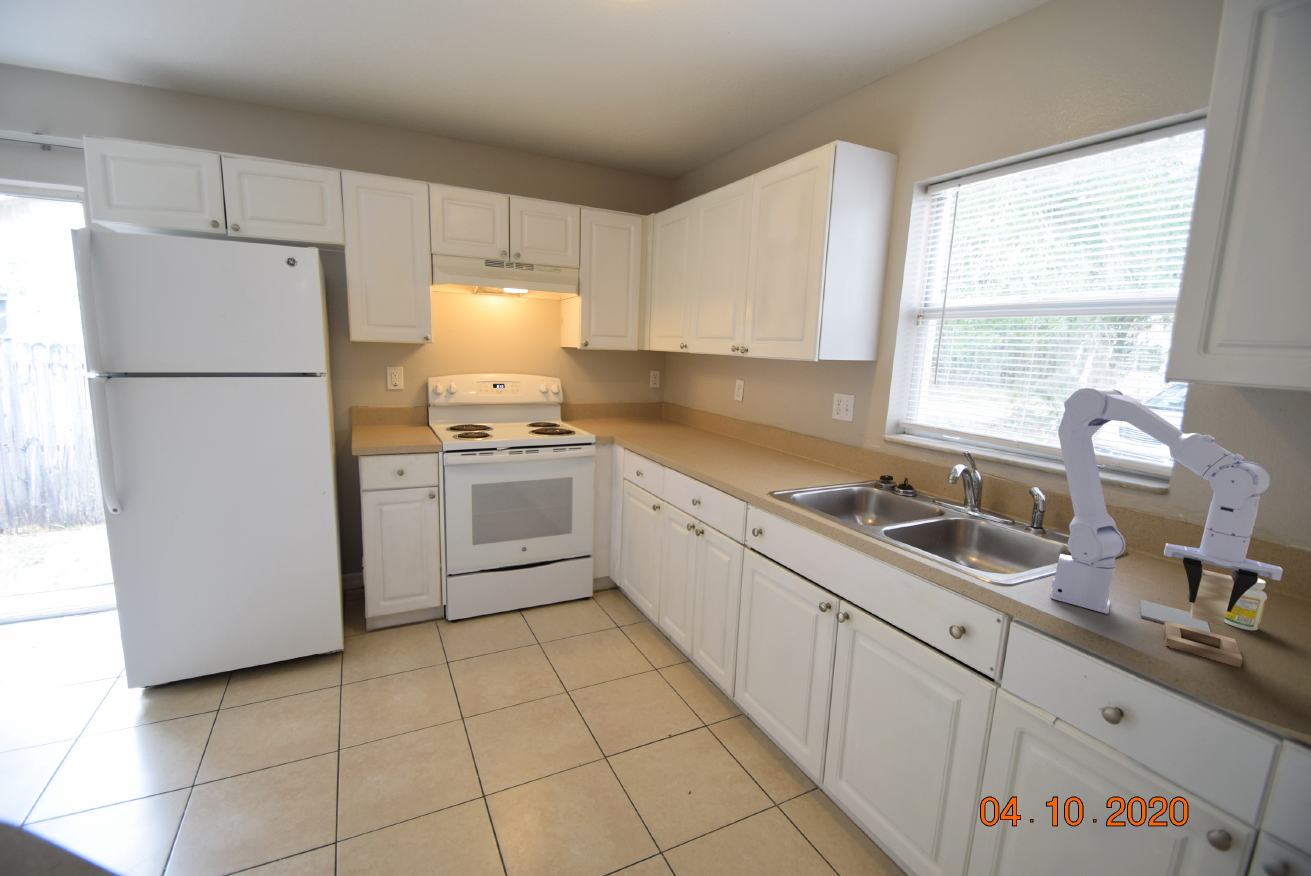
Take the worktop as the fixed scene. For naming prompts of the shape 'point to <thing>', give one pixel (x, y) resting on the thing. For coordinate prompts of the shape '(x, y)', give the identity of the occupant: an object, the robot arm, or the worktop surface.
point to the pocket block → (1224, 654)
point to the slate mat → (1170, 615)
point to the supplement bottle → (1248, 608)
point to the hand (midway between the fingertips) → (1209, 605)
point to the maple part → (1212, 597)
